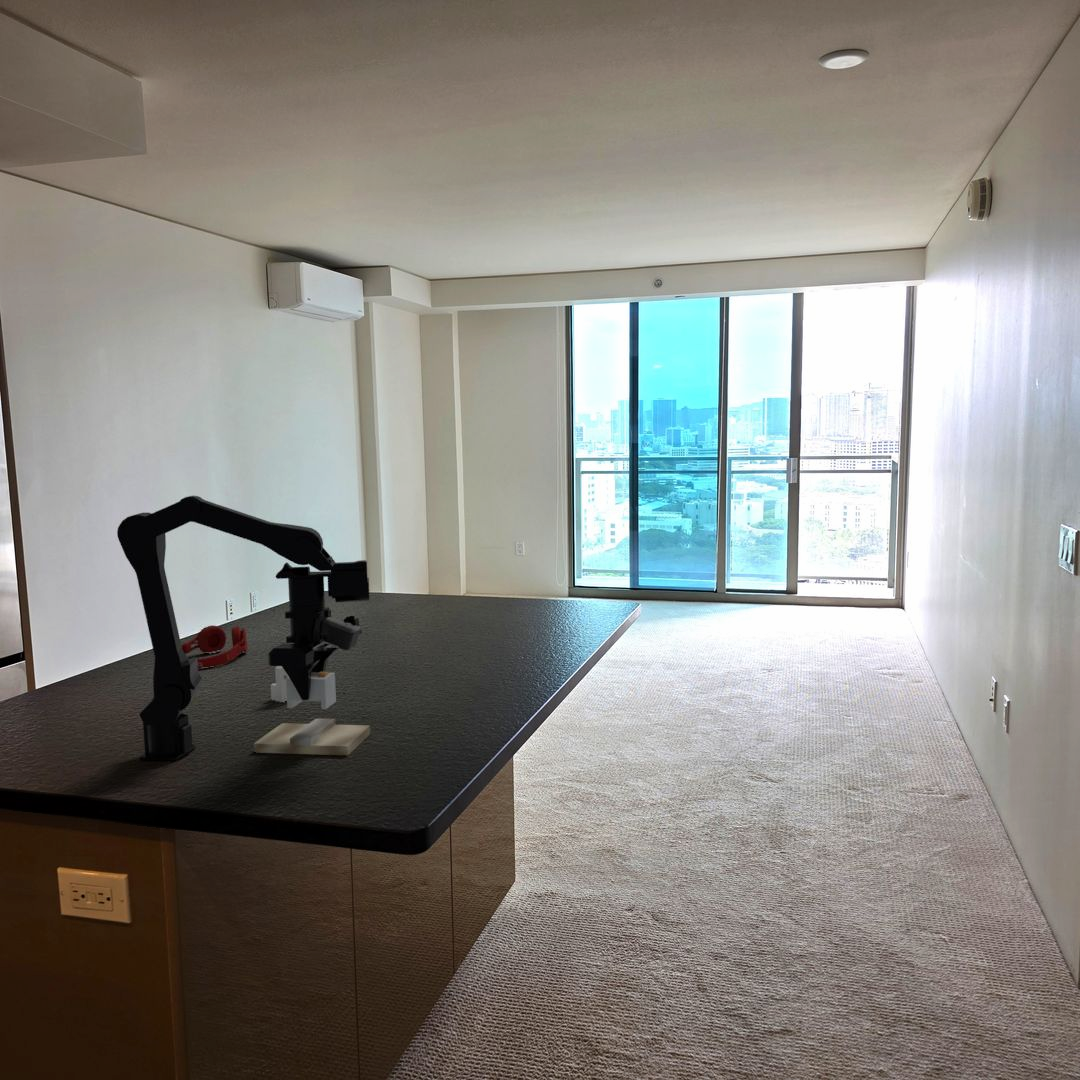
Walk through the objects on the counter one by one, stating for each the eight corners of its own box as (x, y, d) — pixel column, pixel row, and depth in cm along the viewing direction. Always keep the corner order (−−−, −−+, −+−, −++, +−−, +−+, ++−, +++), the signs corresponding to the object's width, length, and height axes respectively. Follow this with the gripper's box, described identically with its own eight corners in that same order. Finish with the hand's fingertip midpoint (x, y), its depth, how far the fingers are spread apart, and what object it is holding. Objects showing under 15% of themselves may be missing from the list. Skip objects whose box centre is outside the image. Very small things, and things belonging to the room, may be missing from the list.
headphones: (208, 648, 227) (159, 678, 208) (204, 621, 226) (154, 650, 207) (261, 649, 224) (216, 681, 205) (258, 622, 222) (212, 652, 203)
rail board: (254, 752, 148) (253, 737, 148) (282, 731, 159) (281, 717, 159) (347, 755, 146) (347, 740, 145) (370, 733, 156) (369, 719, 156)
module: (287, 708, 150) (285, 675, 149) (298, 700, 154) (296, 668, 154) (326, 709, 149) (324, 675, 148) (336, 701, 153) (334, 669, 153)
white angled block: (323, 679, 185) (304, 647, 181) (289, 713, 179) (268, 680, 175) (312, 677, 187) (293, 644, 183) (278, 710, 181) (257, 678, 177)
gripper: (333, 614, 139) (337, 713, 141) (372, 595, 158) (375, 682, 159) (264, 614, 141) (269, 711, 143) (311, 594, 159) (315, 681, 161)
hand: (311, 695), depth 151 cm, fingers closed on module, 4 cm apart
